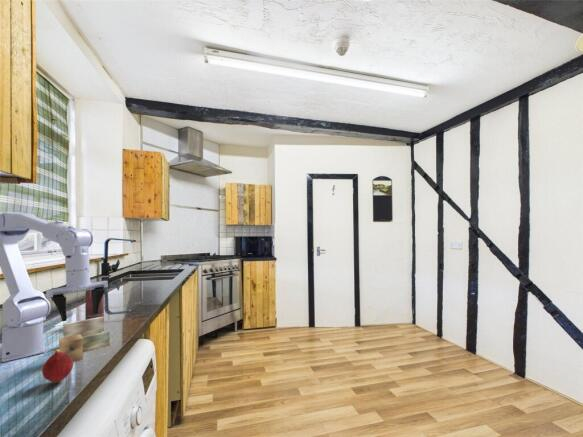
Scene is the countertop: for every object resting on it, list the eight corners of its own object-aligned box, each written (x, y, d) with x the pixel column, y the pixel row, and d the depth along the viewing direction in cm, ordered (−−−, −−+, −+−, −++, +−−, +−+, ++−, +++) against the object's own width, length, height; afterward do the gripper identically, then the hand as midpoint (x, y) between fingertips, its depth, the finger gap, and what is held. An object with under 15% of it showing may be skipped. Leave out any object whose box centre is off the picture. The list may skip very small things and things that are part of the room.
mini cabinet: (60, 366, 80) (61, 343, 80) (58, 359, 84) (59, 338, 84) (83, 360, 84) (83, 338, 84) (80, 354, 88) (80, 333, 88)
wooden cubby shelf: (66, 355, 87) (67, 331, 87) (63, 345, 94) (63, 323, 94) (109, 344, 94) (109, 322, 94) (103, 336, 101) (103, 316, 102)
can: (82, 327, 112) (82, 290, 112) (88, 322, 118) (89, 287, 118) (100, 325, 113) (100, 289, 114) (106, 320, 120) (106, 286, 120)
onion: (78, 376, 74) (78, 344, 74) (61, 388, 68) (61, 353, 69) (54, 377, 74) (55, 344, 74) (35, 389, 68) (36, 354, 68)
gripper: (50, 274, 78) (52, 326, 78) (110, 266, 89) (112, 311, 89) (43, 274, 83) (46, 322, 82) (102, 266, 94) (104, 309, 93)
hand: (80, 316), depth 86 cm, fingers open, 7 cm apart
